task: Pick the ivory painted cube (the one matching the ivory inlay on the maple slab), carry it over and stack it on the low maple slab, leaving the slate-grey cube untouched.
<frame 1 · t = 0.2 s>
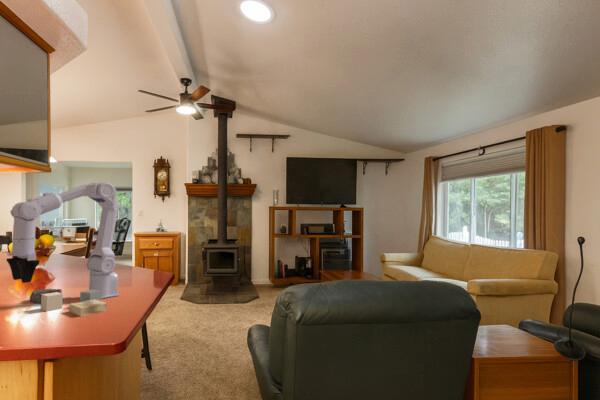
hand: (22, 280, 112), 10 cm above the counter, fingers open, 7 cm apart
rock: (46, 301, 128), on the counter
maple slab: (87, 312, 114), on the counter
slate cube: (90, 305, 122), on the counter
ivory cube: (51, 309, 116), on the counter
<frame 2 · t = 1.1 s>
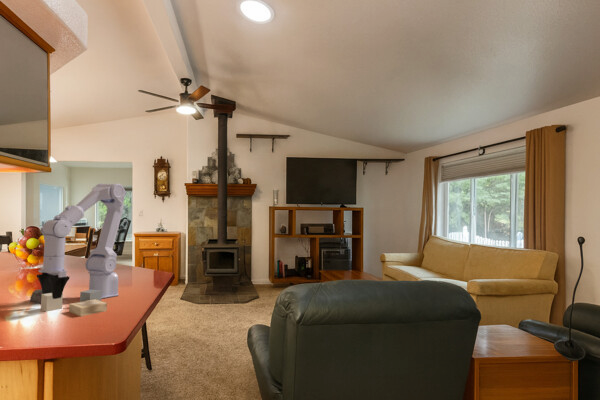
hand: (51, 296, 116), 4 cm above the counter, fingers open, 7 cm apart
nothing on the counter moved.
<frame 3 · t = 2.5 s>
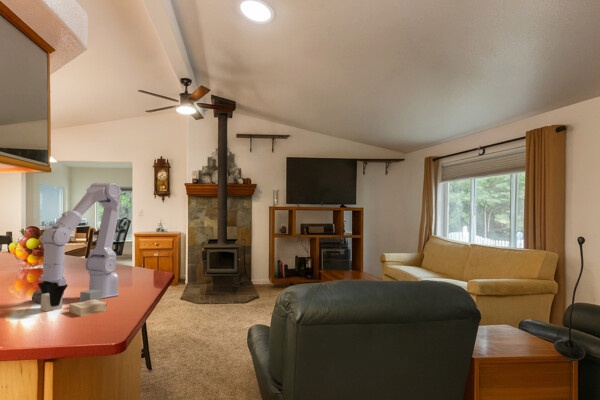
hand: (51, 304, 116), 1 cm above the counter, fingers closed on ivory cube, 4 cm apart
ivory cube: (51, 308, 116), on the counter, touching gripper
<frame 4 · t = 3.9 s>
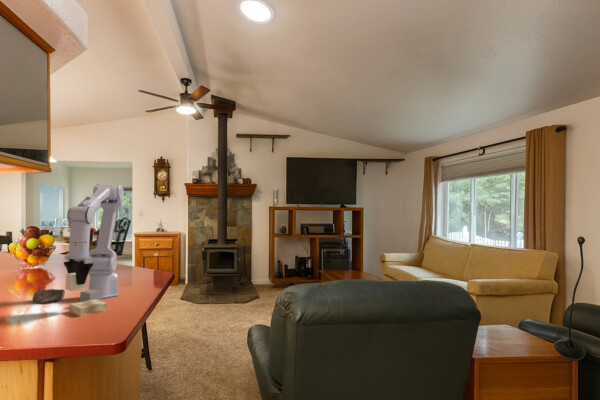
hand: (77, 283, 115), 9 cm above the counter, fingers closed on ivory cube, 4 cm apart
ivory cube: (75, 288, 115), point 7 cm above the counter, touching gripper
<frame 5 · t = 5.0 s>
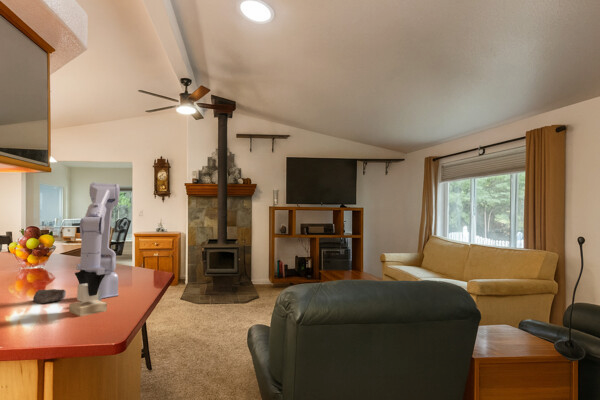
hand: (88, 294, 115), 6 cm above the counter, fingers closed on ivory cube, 5 cm apart
ivory cube: (87, 299, 114), point 4 cm above the counter, touching gripper
when the fingers open (6 cm above the counter, at t = 5.6 s): ivory cube drops 1 cm, resting on maple slab.
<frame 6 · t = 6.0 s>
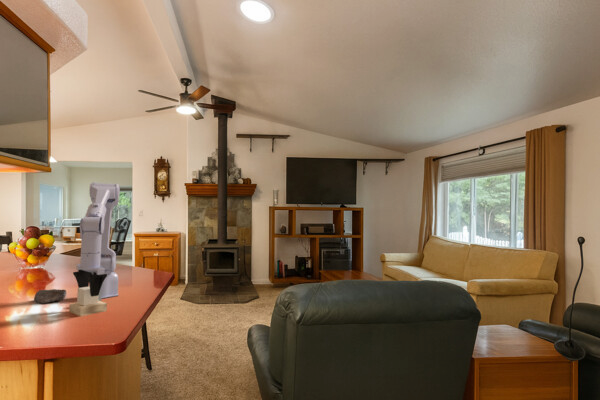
hand: (88, 294, 115), 6 cm above the counter, fingers open, 7 cm apart
maple slab: (88, 312, 114), on the counter, touching ivory cube
ivory cube: (87, 303, 114), point 3 cm above the counter, touching maple slab
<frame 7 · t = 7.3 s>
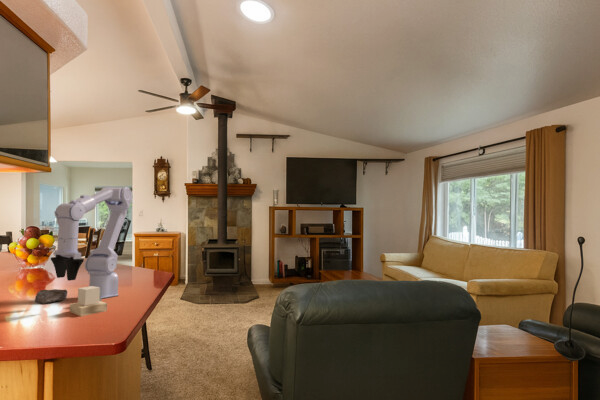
hand: (66, 278, 118), 10 cm above the counter, fingers open, 7 cm apart
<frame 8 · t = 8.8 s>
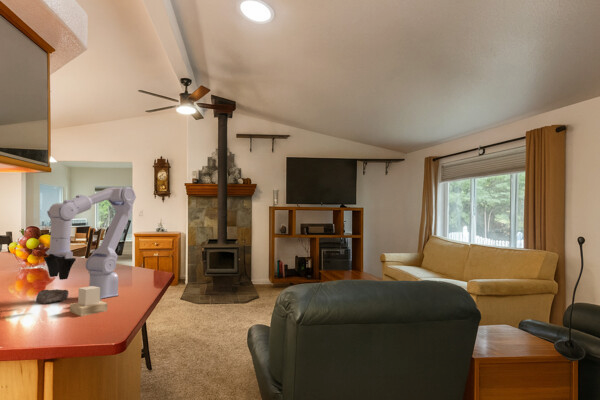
hand: (58, 277, 119), 10 cm above the counter, fingers open, 7 cm apart
at the end: ivory cube 0.1 cm off-centre on the maple slab, point 3.1 cm above the maple slab's base; ivory cube tilted 0°; slate cube moved 0.1 cm from its start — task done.
